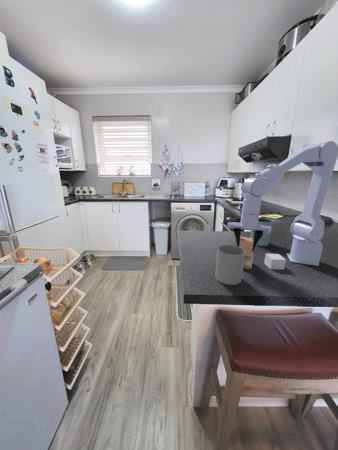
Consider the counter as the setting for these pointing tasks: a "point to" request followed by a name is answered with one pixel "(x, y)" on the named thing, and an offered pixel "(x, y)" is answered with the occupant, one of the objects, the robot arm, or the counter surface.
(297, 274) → the counter surface
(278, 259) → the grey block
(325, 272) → the counter surface
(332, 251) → the counter surface
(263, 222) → the teal round container
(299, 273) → the counter surface
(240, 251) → the cup
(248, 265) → the oak base block
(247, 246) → the terracotta block
